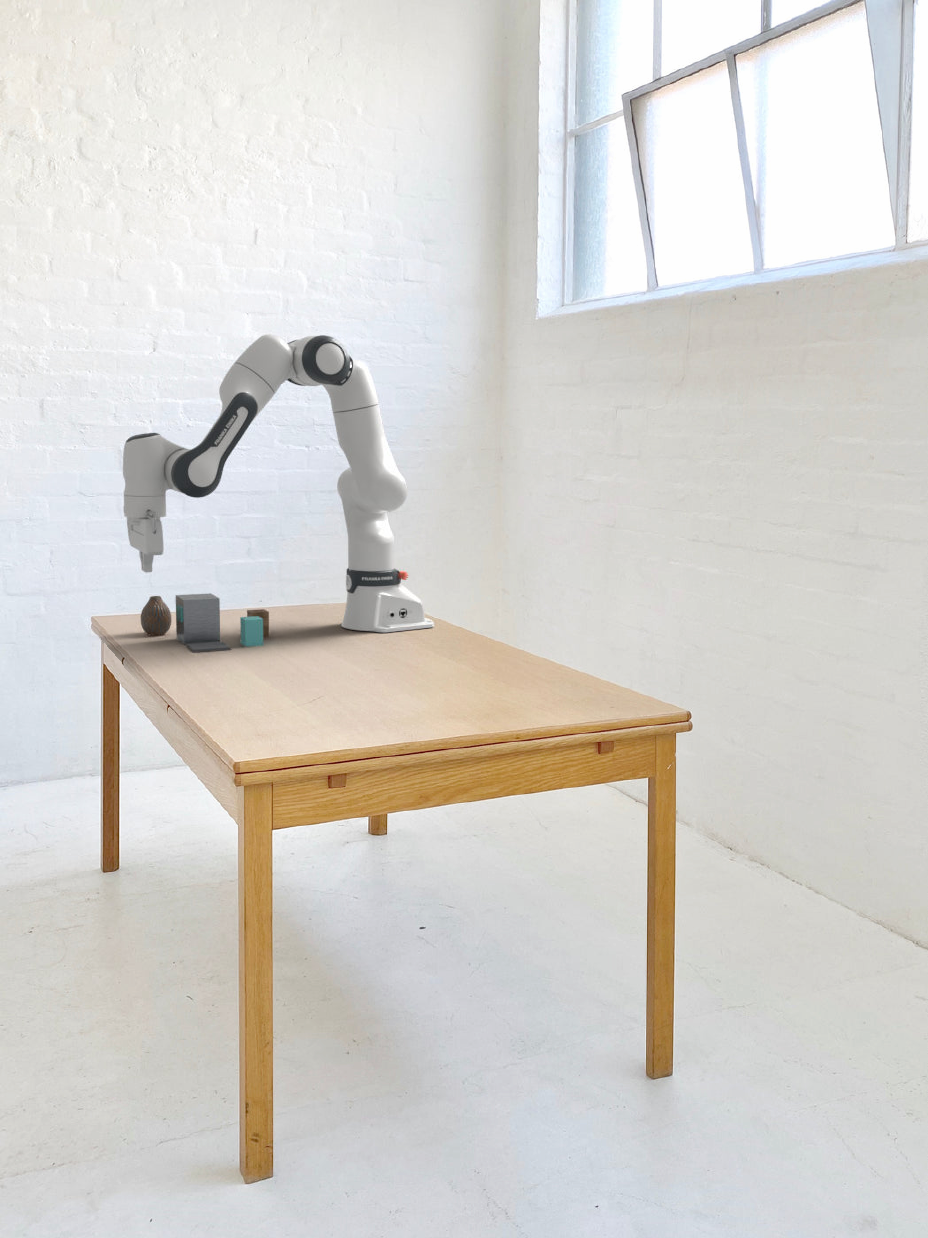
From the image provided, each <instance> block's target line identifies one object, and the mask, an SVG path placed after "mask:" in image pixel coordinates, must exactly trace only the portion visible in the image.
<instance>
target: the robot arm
mask: <svg viewBox="0 0 928 1238" xmlns="http://www.w3.org/2000/svg"><path fill="white" fill-rule="evenodd" d="M373 380H374V379H373V377H372V375H371V372H370V370H369V368H368V366H367V365H366V363H364V362H363V361H360V360H358V359H357V360H356V359H353V358H352V357H351V356H350V354H349V353H348V352H347V349H346V348H345V346H344V345H343V344H342V343H341V341H340V340H338V339H337V338H334V337H333V336H330V335H325V334H322V335H321V334H320V335H309V336H304V337H303V338H300V339H294V340H292V341H290V342H286V341H285V340H284V339H283V338H281V337H279V336H276V335H273V334H263V335H261V336H259V338H257V339H256V340H255V341H253V342H252V344H250V345H249V346H248V347H247V348H246V349H245V350H244V351H243V352H242V353H241V355H239V357H238V358H237V359H236V361H234V363H233V364H232V366H231V367H229V369H228V370H227V372H226V374H225V376H224V377H223V379H222V381H221V384H220V386H219V389H218V390H219V393H218V394H219V398H220V401H221V405H222V406H221V411H220V414H219V416H218V418H217V419H216V420H215V422H214V424H213V425H212V427H210V429H209V430H208V433H206V435H205V436H204V438H202V441H201V442H200V443H199V444H198V445H197V446H195V447H193V448H191V449H189V448H187V447H183V446H180V445H178V444H176V443H174V442H173V441H170V440H168V439H167V438H165V437H163V435H161V433H158V432H148V433H146V432H145V433H140V434H134V435H132V436H130V437H129V438H128V439H127V440H126V441H125V443H124V446H123V452H122V453H123V456H122V477H123V479H124V485H125V486H124V490H123V513H124V514H123V515H124V517H125V518H126V527H127V534H128V541H129V545H130V547H132V548H134V549H135V550H137V551H139V552H138V553H139V559H140V565H141V570H142V571H143V572H144V573H147V574H148V573H152V572H153V563H154V557H155V556H162V555H164V549H165V547H164V533H163V532H164V531H163V530H164V529H163V523H162V521H161V518H164V517H167V502H166V501H167V499H166V498H167V497H166V491H168V490H171V491H174V492H177V493H181V494H183V495H186V496H187V497H191V498H196V499H198V498H199V499H200V498H205V497H207V496H209V495H210V494H213V493H214V491H216V489H217V488H218V486H219V484H220V482H221V479H222V476H223V471H224V468H225V465H226V462H227V460H228V458H229V456H230V455H231V454H232V452H233V451H234V449H235V448H236V446H238V443H239V442H240V441H241V439H242V437H243V436H244V435H245V433H246V432H247V430H248V429H249V427H250V426H251V424H252V422H254V420H255V418H256V417H257V416H258V415H259V414H260V413H261V412H262V410H264V408H265V407H266V406H267V405H268V403H269V402H270V401H271V399H273V397H274V395H275V394H276V393H277V391H278V389H280V387H281V386H282V385H283V383H285V382H286V381H287V382H289V383H291V384H294V385H296V386H300V387H301V386H302V387H306V386H307V387H317V386H318V387H319V386H322V387H324V389H325V390H326V392H327V393H328V397H329V399H330V405H331V411H332V415H333V420H334V426H335V430H336V435H337V440H338V445H339V447H340V449H341V450H342V452H343V454H344V456H345V458H346V460H347V462H348V465H349V467H348V468H346V469H344V471H342V472H341V473H340V475H339V477H338V479H337V487H336V488H337V492H338V495H339V497H340V499H341V505H342V508H343V514H344V522H345V525H346V531H347V532H346V533H347V543H348V544H347V546H348V547H347V550H348V551H347V553H348V554H347V562H348V563H347V564H348V568H346V575H345V588H346V593H347V595H346V604H345V609H344V614H343V617H342V618H343V619H342V621H341V625H340V626H341V627H342V628H344V629H348V630H354V631H363V632H365V631H366V632H375V633H393V632H400V631H401V632H402V631H409V630H419V629H427V628H428V629H429V628H434V627H435V623H434V621H433V620H432V619H430V618H427V617H426V614H425V607H424V604H423V602H422V600H421V598H419V597H418V596H417V595H416V594H414V593H413V592H412V591H410V590H409V589H408V588H407V587H406V586H404V585H403V584H402V583H401V582H402V580H403V581H406V580H408V578H409V573H408V572H407V571H404V570H398V569H396V568H395V536H394V533H393V531H392V528H391V526H390V522H389V517H388V513H390V512H391V513H392V512H393V511H396V510H398V509H399V508H400V507H402V506H403V504H404V503H405V501H406V499H407V497H408V492H409V491H408V484H407V481H406V480H405V478H404V476H402V474H401V472H400V471H399V469H398V466H397V463H396V460H395V457H394V456H393V454H392V453H393V452H392V451H391V449H390V446H389V443H388V440H387V436H386V432H385V428H384V423H383V419H382V413H381V408H380V401H379V399H378V398H379V397H378V394H377V391H376V387H375V383H374V381H373Z"/></svg>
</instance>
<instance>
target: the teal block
mask: <svg viewBox="0 0 928 1238" xmlns="http://www.w3.org/2000/svg"><path fill="white" fill-rule="evenodd" d="M239 618H240V619H239V620H240V621H239V622H240V644H241V645H242V646H244V647H246V648H247V647H263V646H264V638H263V619H262V618H260V617H259V616H252V617H247V616H240V617H239Z"/></svg>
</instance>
